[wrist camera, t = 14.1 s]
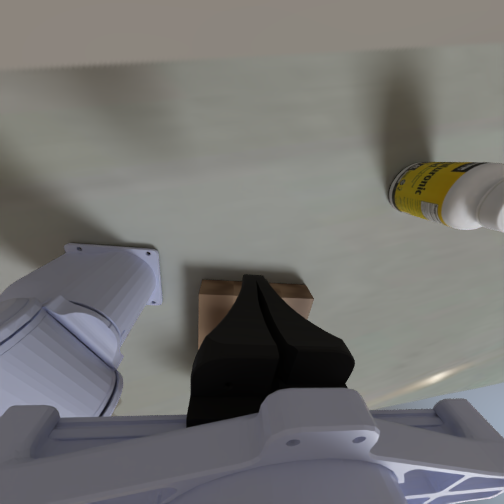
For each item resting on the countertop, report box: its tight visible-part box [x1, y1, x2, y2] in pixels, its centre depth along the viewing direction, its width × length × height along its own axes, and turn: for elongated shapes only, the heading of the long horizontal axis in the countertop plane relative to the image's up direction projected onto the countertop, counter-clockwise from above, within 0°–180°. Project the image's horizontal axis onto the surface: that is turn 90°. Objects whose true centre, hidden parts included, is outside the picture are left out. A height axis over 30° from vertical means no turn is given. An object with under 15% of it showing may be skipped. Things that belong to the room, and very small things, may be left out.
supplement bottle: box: [389, 162, 504, 232], centre depth 17 cm, size 5×5×10 cm
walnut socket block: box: [198, 279, 314, 350], centre depth 27 cm, size 14×14×3 cm
